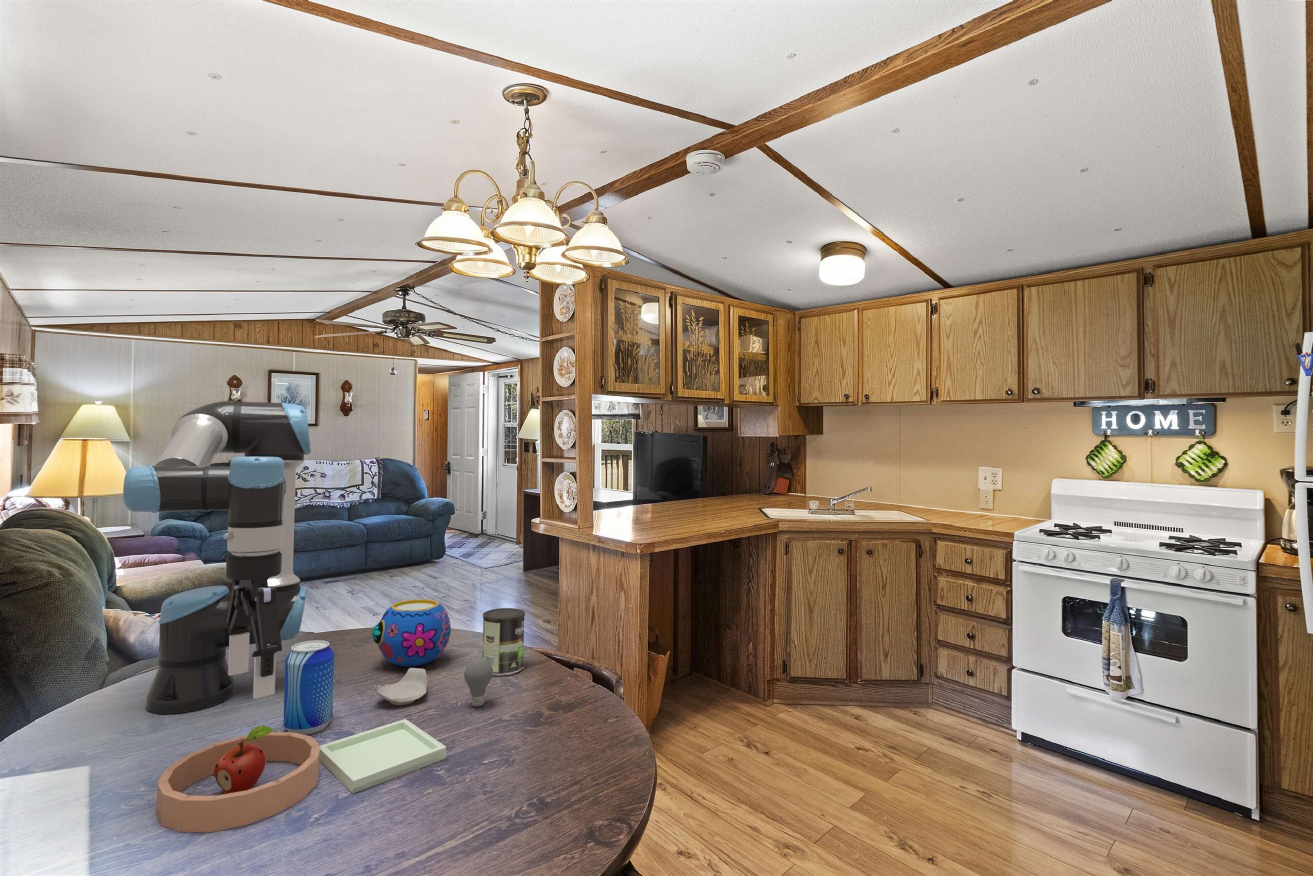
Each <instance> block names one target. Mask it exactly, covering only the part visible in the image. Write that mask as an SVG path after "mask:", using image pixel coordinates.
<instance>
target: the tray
mask: <svg viewBox="0 0 1313 876" xmlns="http://www.w3.org/2000/svg"><path fill="white" fill-rule="evenodd" d="M446 759H447V746H446V745H444V744H443V743H441V742H440V741H438V740H437V739H435V738H434V737H433V736H431V735H429V733H427V732H425V731H424V730H422V729H421V728H419V727H418V726H417V725H415V724H414V723H412V722H410V720H408V719H406V718H403V719H402V720H399V721H398V720H397V721H395V722H392V723H388V724H386V725H381V726H378V727H376V728H373V729H369V730H366V731H363V732H360V733H357V734H353V735H350V736H346V737H344V738H340V739H337V740H334V741H331V742H328V743H325V744H320V762H321V763H322V764H323V765H324V766H325V768H327V769H328V771H330V772H331V774H333V775H334V776H335V777H336V778H337V779H338V780H339V781H340V782H341V783H342V785H344V786H345V787H346V788H347V789H348V790H349V791H350V792H351V793H352V794H355V793H358V792H362V791H364V790H366V789H369V788H372V787H375V786H377V785H379V784H382V783H384V782H388V781H390V780H394V779H396V778H398V777H401V776H403V775H406V774H408V773H409V774H410V773H411V772H414V771H417V770H419V769H422V768H424V767H427V766H430V765H432V764H435V763H438V762H441V761H443V760H446Z"/></svg>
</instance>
